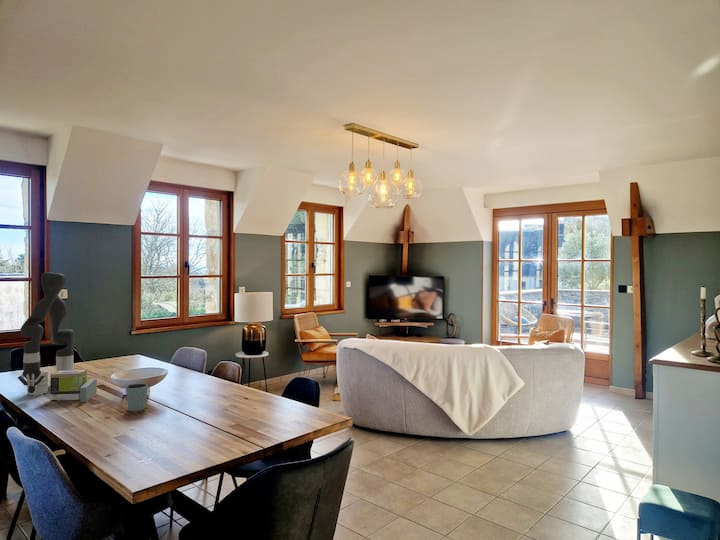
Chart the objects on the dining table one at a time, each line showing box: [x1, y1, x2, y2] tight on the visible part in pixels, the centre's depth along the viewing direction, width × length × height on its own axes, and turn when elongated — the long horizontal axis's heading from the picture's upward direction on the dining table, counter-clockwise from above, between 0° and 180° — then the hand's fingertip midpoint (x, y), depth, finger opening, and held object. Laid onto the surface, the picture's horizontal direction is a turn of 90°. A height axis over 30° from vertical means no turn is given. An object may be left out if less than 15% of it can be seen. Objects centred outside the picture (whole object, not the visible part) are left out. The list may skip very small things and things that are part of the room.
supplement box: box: [26, 369, 49, 397], centre depth 278 cm, size 7×7×13 cm
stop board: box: [79, 377, 98, 403], centre depth 273 cm, size 22×3×8 cm, turn 15°
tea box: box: [49, 369, 88, 401], centre depth 270 cm, size 15×10×15 cm
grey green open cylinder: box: [125, 382, 149, 412], centre depth 251 cm, size 10×10×12 cm
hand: (31, 392), depth 265 cm, fingers closed
